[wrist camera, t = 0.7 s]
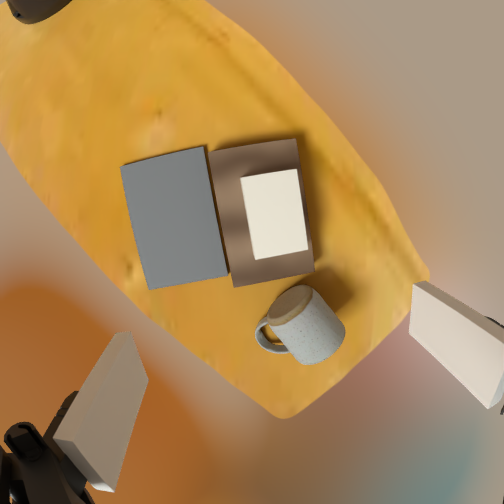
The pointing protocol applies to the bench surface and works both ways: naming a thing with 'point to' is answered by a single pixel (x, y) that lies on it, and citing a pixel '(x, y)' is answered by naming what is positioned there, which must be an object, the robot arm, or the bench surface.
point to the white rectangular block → (274, 213)
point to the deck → (234, 213)
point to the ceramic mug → (302, 326)
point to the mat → (174, 218)
